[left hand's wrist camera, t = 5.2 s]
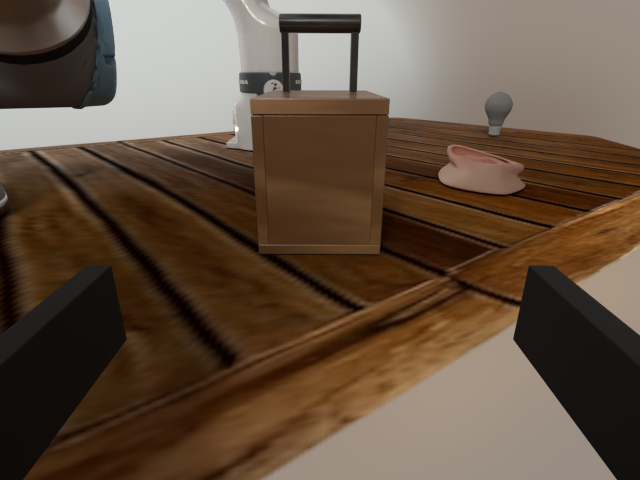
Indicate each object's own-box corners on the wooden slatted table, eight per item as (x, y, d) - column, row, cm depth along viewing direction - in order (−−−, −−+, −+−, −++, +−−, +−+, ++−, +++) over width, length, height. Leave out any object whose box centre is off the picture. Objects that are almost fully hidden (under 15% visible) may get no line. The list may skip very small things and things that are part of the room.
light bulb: (484, 137, 96) (491, 92, 92) (477, 134, 101) (483, 91, 97) (510, 137, 95) (518, 92, 91) (502, 134, 101) (509, 91, 97)
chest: (277, 200, 48) (273, 102, 44) (361, 200, 48) (366, 102, 44) (258, 254, 34) (250, 115, 29) (379, 254, 34) (388, 115, 29)
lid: (274, 101, 44) (270, 17, 41) (365, 101, 44) (369, 18, 41) (250, 114, 29) (242, -16, 26) (388, 114, 29) (397, -15, 26)
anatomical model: (535, 165, 47) (433, 157, 51) (528, 198, 48) (430, 188, 52) (526, 147, 58) (444, 142, 62) (521, 174, 60) (441, 168, 64)
